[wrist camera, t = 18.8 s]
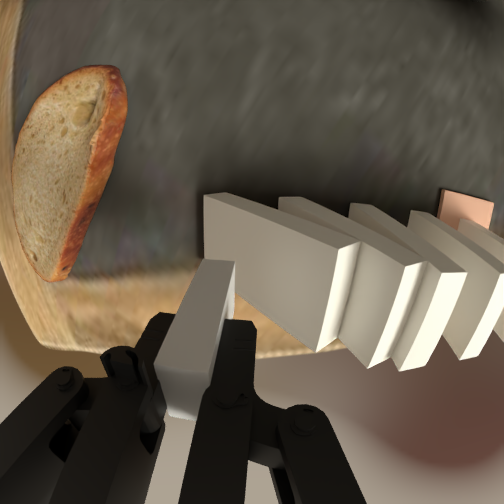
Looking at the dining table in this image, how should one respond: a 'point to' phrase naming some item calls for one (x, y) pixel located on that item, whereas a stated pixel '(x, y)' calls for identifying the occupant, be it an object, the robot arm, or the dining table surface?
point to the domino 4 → (466, 284)
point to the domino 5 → (491, 244)
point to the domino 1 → (283, 265)
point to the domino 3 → (430, 292)
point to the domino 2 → (370, 283)
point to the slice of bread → (66, 164)
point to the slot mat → (463, 209)
